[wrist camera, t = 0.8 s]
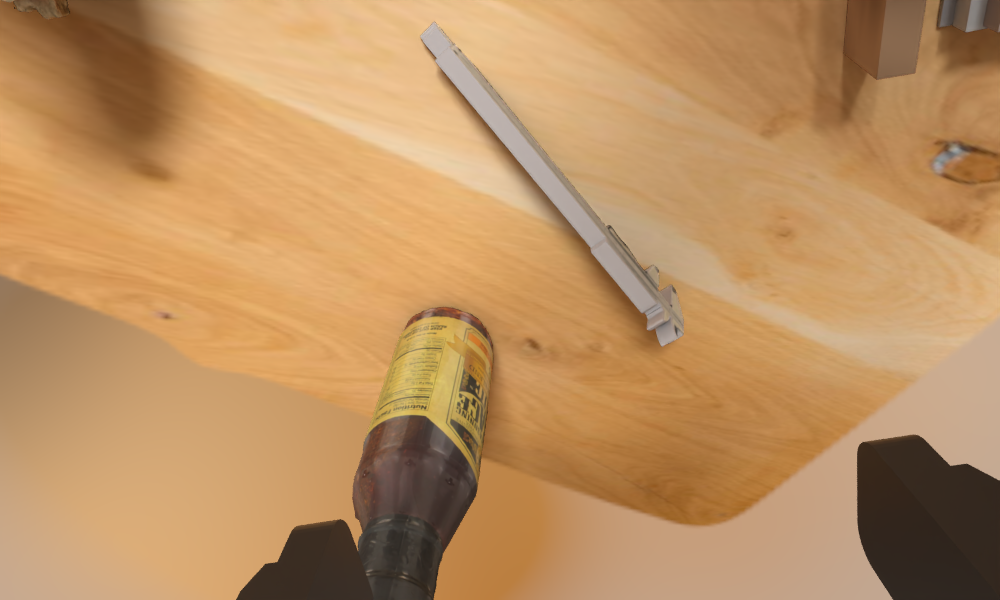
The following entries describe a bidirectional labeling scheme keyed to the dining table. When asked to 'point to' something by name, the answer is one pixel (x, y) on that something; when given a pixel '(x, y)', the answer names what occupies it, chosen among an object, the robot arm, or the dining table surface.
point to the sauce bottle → (422, 452)
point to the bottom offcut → (946, 13)
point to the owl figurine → (43, 7)
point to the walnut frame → (884, 35)
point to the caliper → (561, 191)
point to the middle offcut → (970, 15)
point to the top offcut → (992, 15)
